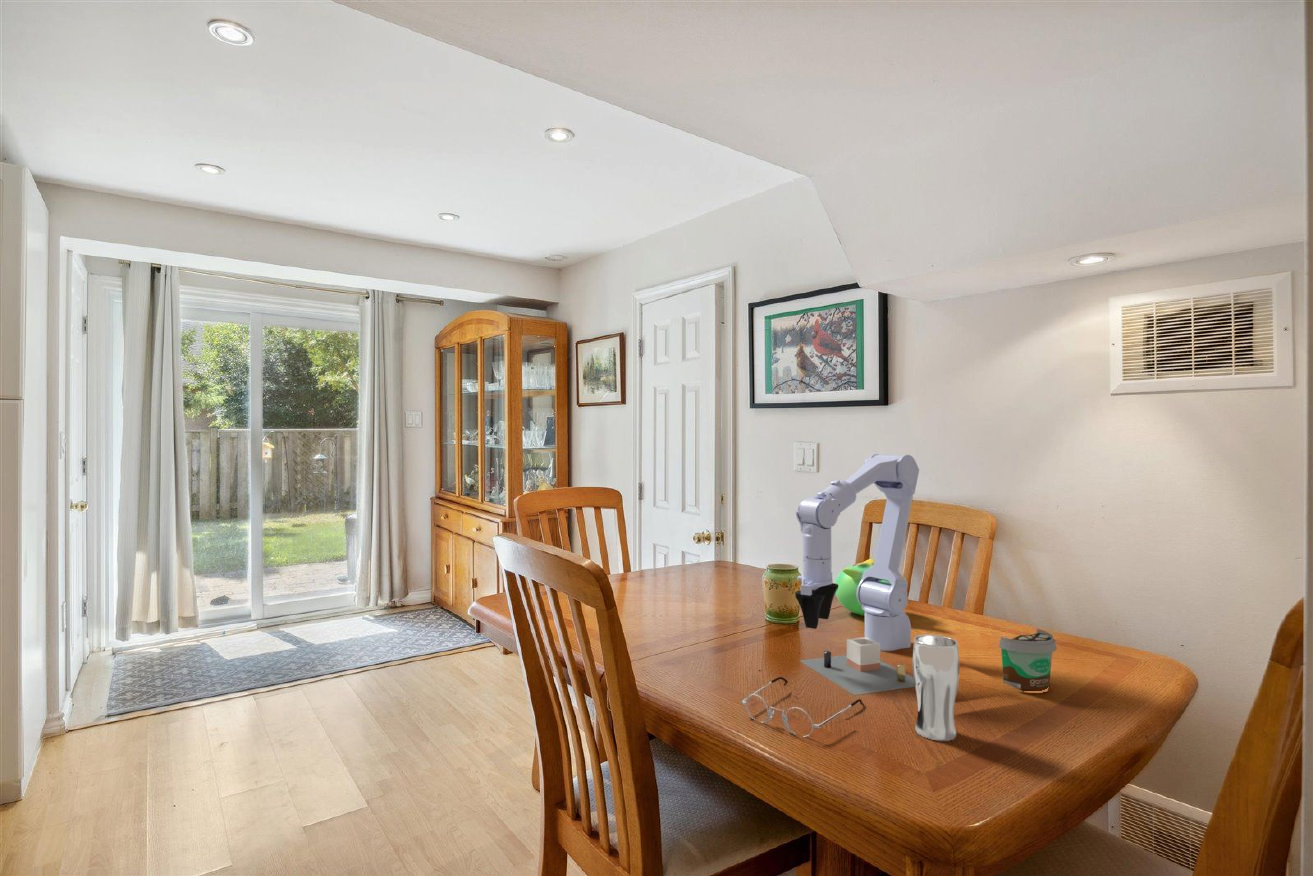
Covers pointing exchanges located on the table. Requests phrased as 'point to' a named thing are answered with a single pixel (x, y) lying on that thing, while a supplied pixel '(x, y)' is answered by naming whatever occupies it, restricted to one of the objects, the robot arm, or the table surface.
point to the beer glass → (935, 685)
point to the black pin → (827, 659)
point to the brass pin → (901, 673)
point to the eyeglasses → (789, 709)
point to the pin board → (859, 676)
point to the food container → (1028, 660)
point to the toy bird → (852, 585)
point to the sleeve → (863, 654)
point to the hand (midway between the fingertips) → (817, 623)
